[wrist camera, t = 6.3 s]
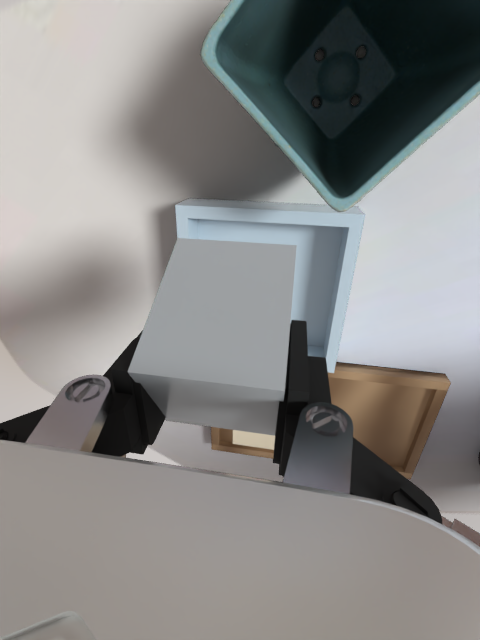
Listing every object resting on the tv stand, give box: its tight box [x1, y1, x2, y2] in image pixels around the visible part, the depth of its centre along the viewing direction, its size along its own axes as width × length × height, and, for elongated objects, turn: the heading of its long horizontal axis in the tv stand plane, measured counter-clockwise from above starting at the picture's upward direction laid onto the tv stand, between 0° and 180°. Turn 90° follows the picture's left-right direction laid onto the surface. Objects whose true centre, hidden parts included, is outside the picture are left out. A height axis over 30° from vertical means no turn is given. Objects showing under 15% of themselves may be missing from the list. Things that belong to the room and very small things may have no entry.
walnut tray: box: [211, 362, 451, 479], centre depth 31 cm, size 20×12×1 cm, turn 89°
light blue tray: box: [175, 198, 365, 373], centre depth 25 cm, size 12×12×3 cm
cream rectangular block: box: [233, 430, 275, 450], centre depth 28 cm, size 4×4×5 cm
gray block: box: [128, 238, 297, 436], centre depth 11 cm, size 4×4×5 cm
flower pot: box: [200, 0, 480, 212], centre depth 16 cm, size 9×9×9 cm
